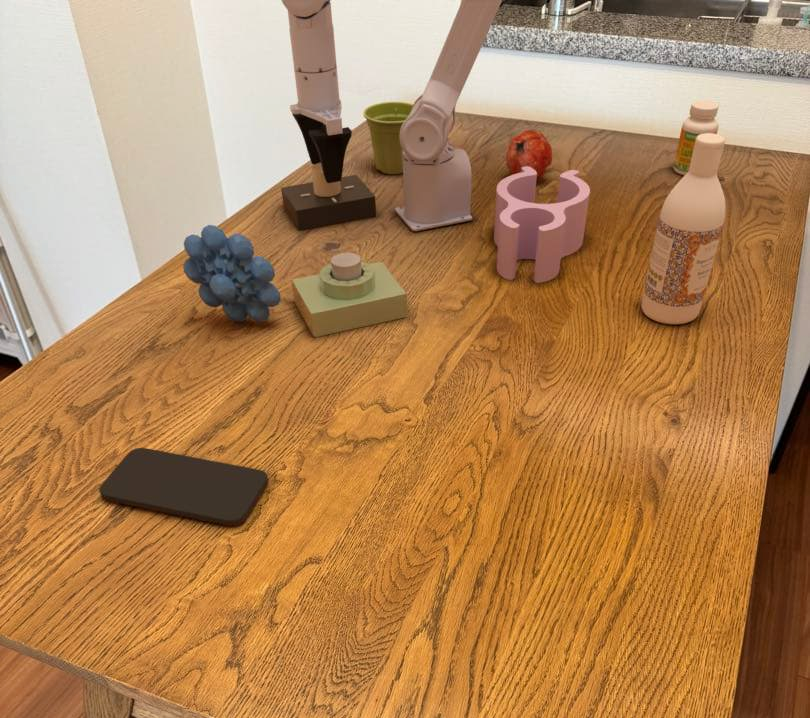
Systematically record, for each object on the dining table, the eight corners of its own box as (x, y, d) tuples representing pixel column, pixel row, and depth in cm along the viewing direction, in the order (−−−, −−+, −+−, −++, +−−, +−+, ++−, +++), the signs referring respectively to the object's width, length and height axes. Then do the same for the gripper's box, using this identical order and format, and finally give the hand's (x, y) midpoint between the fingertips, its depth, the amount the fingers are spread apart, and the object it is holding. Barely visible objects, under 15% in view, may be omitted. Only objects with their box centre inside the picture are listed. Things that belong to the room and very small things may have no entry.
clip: (571, 286, 101) (578, 233, 96) (476, 276, 103) (478, 224, 98) (588, 220, 114) (595, 171, 109) (504, 213, 116) (507, 164, 111)
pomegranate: (518, 181, 130) (484, 155, 122) (545, 139, 127) (512, 110, 119) (546, 200, 126) (513, 175, 119) (574, 158, 123) (542, 129, 116)
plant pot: (425, 157, 133) (424, 101, 126) (420, 179, 126) (419, 121, 120) (370, 157, 133) (367, 101, 127) (363, 179, 127) (359, 121, 121)
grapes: (182, 335, 95) (156, 239, 86) (203, 307, 99) (181, 213, 91) (272, 344, 93) (256, 247, 84) (290, 315, 97) (276, 220, 89)
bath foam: (670, 332, 92) (714, 155, 78) (628, 308, 96) (662, 135, 82) (711, 314, 95) (760, 139, 80) (668, 292, 99) (707, 121, 85)
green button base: (383, 284, 102) (381, 247, 99) (407, 317, 96) (406, 279, 93) (294, 302, 100) (289, 265, 96) (314, 337, 94) (309, 299, 90)
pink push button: (356, 266, 96) (355, 250, 95) (365, 279, 94) (364, 263, 92) (328, 271, 95) (327, 255, 94) (337, 285, 93) (335, 268, 92)
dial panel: (357, 194, 123) (356, 173, 120) (376, 216, 117) (375, 195, 115) (283, 207, 120) (280, 186, 118) (299, 231, 114) (296, 209, 112)
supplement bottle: (671, 175, 124) (685, 109, 117) (673, 163, 128) (687, 97, 121) (706, 178, 123) (723, 111, 116) (708, 165, 127) (724, 100, 120)
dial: (310, 188, 117) (307, 162, 114) (336, 184, 118) (333, 158, 115) (318, 198, 114) (315, 172, 112) (344, 194, 115) (342, 167, 113)
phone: (238, 523, 70) (93, 493, 74) (240, 530, 71) (96, 499, 74) (271, 471, 75) (134, 445, 78) (272, 477, 76) (136, 451, 79)
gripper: (273, 57, 108) (287, 159, 118) (300, 86, 99) (313, 195, 108) (322, 50, 110) (331, 151, 120) (353, 78, 100) (361, 186, 110)
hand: (326, 172), depth 114 cm, fingers open, 7 cm apart
